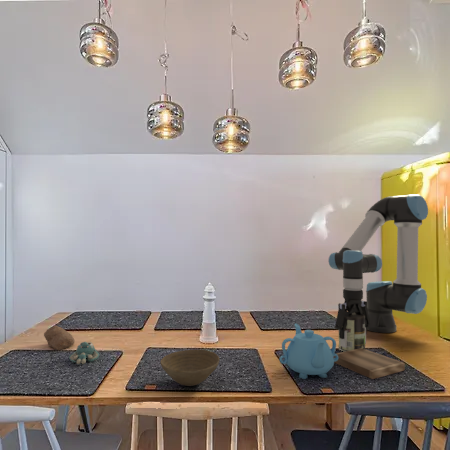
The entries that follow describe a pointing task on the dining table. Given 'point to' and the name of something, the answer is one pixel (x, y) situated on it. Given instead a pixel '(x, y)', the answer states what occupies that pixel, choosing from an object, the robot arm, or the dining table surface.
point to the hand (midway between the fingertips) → (353, 344)
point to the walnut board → (369, 363)
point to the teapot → (309, 353)
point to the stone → (58, 338)
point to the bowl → (190, 366)
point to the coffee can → (354, 332)
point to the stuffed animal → (84, 353)
